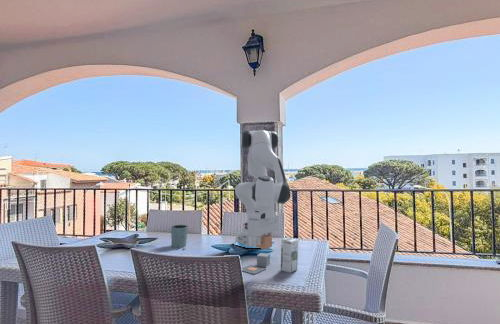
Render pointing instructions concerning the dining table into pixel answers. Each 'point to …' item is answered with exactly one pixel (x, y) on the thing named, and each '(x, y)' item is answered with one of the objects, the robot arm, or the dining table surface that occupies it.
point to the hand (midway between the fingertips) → (264, 243)
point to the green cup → (179, 236)
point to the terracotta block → (265, 242)
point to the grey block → (263, 259)
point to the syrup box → (289, 255)
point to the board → (253, 269)
